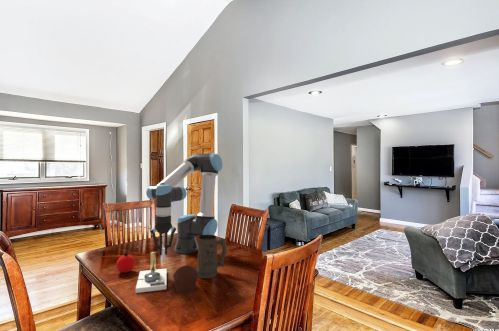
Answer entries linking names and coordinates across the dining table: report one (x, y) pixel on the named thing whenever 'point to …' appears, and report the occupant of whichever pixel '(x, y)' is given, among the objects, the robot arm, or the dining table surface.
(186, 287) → the muffin
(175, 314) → the dining table surface
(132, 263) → the ornament
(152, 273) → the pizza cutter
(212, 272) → the beer stein
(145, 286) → the stand
